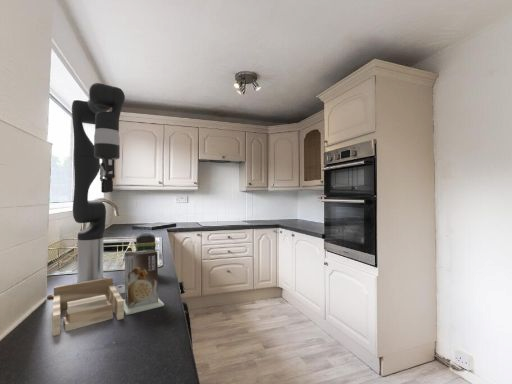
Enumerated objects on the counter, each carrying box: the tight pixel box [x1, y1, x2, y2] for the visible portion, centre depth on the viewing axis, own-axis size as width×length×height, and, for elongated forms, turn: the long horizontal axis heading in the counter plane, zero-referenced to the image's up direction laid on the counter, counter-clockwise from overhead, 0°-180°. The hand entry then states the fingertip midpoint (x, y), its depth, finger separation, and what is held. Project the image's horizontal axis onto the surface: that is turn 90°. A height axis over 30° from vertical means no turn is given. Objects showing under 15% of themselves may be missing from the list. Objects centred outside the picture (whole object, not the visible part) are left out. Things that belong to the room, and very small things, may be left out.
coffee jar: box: [135, 232, 156, 251], centre depth 117 cm, size 10×8×19 cm
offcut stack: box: [62, 295, 114, 332], centre depth 74 cm, size 6×11×6 cm, turn 131°
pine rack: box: [52, 276, 125, 337], centre depth 79 cm, size 20×16×7 cm
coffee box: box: [124, 249, 159, 308], centre depth 86 cm, size 9×6×16 cm
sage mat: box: [122, 297, 165, 316], centre depth 86 cm, size 12×11×1 cm
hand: (106, 192), depth 90 cm, fingers open, 8 cm apart
